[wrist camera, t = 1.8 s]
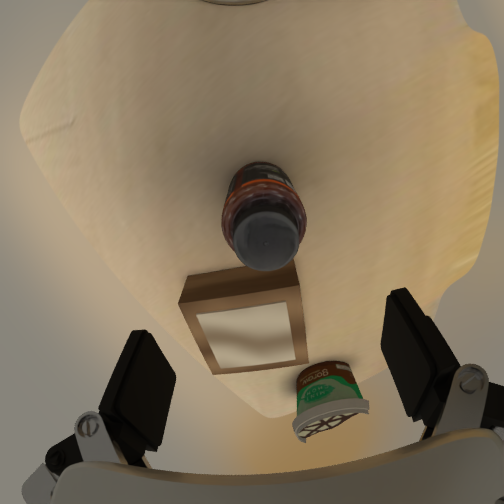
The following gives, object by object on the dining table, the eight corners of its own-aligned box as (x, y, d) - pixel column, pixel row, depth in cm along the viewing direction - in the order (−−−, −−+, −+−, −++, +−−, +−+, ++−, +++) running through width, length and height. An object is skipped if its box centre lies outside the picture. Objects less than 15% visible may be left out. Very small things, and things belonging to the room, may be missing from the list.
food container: (334, 344, 36) (349, 402, 28) (356, 359, 38) (372, 412, 30) (272, 382, 41) (275, 436, 32) (297, 394, 43) (302, 444, 34)
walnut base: (187, 276, 31) (177, 305, 26) (293, 258, 30) (299, 286, 25) (216, 346, 37) (212, 376, 32) (303, 334, 35) (309, 364, 31)
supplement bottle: (238, 224, 28) (229, 292, 18) (223, 168, 25) (201, 208, 15) (296, 212, 27) (320, 275, 17) (285, 154, 24) (307, 185, 14)
